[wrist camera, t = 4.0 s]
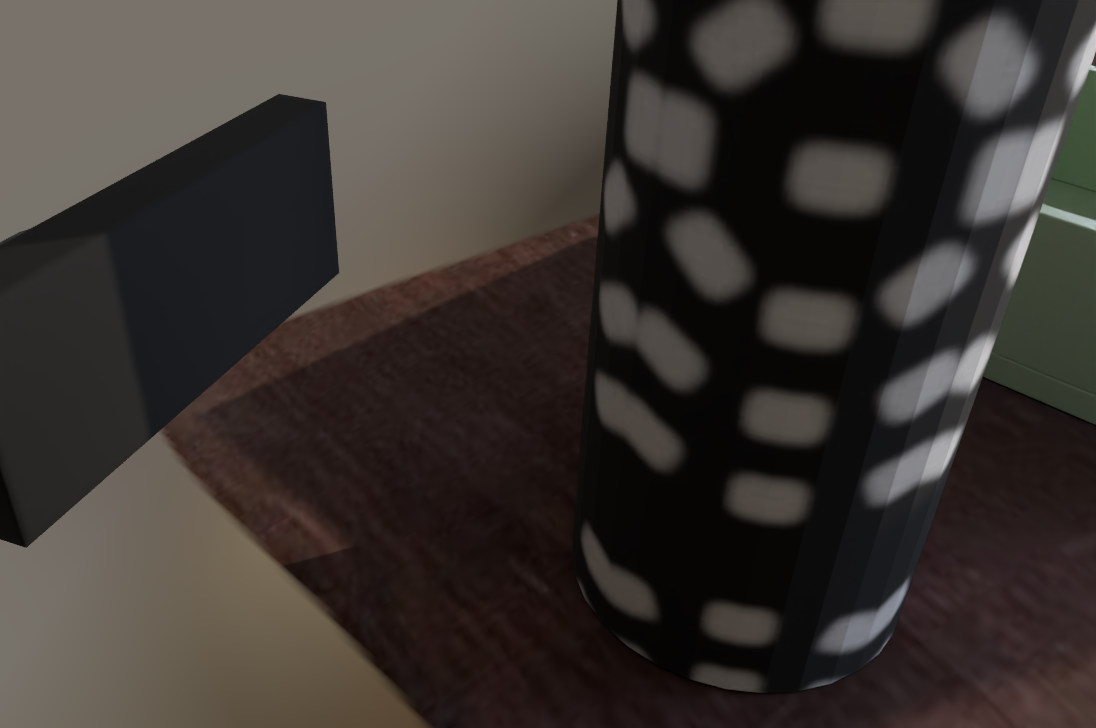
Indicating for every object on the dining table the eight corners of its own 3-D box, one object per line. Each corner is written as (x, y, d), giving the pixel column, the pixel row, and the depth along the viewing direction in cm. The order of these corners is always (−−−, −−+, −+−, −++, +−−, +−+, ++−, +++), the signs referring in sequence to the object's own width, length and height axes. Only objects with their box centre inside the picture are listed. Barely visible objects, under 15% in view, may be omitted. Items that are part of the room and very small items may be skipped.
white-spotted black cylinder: (886, 483, 29) (1155, -395, 18) (918, 726, 22) (1390, -462, 11) (598, 438, 30) (679, -414, 19) (541, 655, 23) (617, -487, 12)
